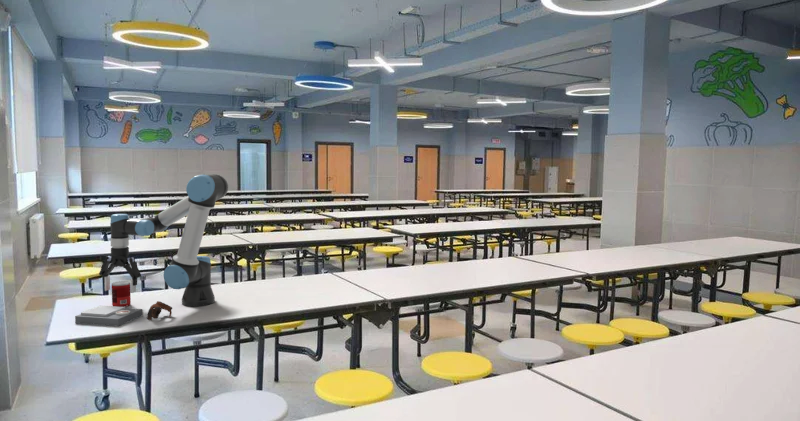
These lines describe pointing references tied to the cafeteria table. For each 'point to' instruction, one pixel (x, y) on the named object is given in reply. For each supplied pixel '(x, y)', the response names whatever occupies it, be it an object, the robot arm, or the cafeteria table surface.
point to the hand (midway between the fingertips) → (120, 291)
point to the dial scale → (108, 315)
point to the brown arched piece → (158, 310)
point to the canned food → (121, 294)
